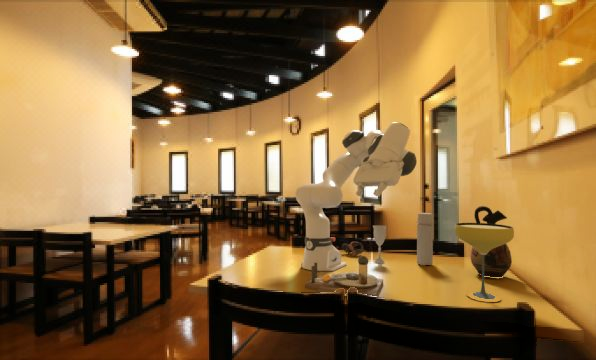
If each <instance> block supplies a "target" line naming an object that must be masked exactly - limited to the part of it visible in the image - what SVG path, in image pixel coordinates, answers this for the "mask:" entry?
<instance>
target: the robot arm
mask: <svg viewBox="0 0 596 360" xmlns="http://www.w3.org/2000/svg"><path fill="white" fill-rule="evenodd" d="M410 135H411V130H410V128H409V127H408V126H406V125H405V124H403V123H402V122H398V121H393V122H391V123H390V124H389V126H387V128H386V130H385V131H383V130H379V129H374V130H371V131H370V132H368V133H367V134H366V133H364V130H363V131H360V130H358V129H356V130H355V129H353V130H351V131H348V132H347V133H346V134H345V135H344V137H343V139H342V143H341V144H342V145H343V147H344V149H346V150H347V152H346V153H342V154H340V155H339V156H337V158H335V160H333V161H332V162H331V164H330V165H329V166H328V167H327V168H326V169H325V170H324V171H323V173H322V180H323V181H321V182H320V183H305V184H301V185H300V186H298V187H297V188H296V191H295V200H296V201H297V203H298V204H299V205H300V207H301V209H302V211H303V215H304V218H305V237H304V245H305V246H304V252H303V261H302V262H301V265H302V266H301V267H302V268H303V269H306V270H307V271H308V270H309V271H312V266H314V263H317V272H322V271H327V272H334V271H336V270H338V269H340V268H342V267H346V266H347V263H346V262H345V261H343V260H342V254H341V252H340V250H338V248H336V247H335V246H334V245H333V242H336V237H335V236H334V237H332V236H331V237H330V233H331V229H330V228H331V223H330V222H331V221H330V219H329V217H327V216H326V214H325V213H324V211H323V209H324V208H325V209H330V208H335V207H338V206H340V204H341V203H342V200H343V191H342V187H343V185H344V184H345V183H346V182H347V180H348V179H349V178H350V177H351V175H352V174H353V173H354V171H355V170H356V169H357V168H358V169H357V171H356V172H355V175H354V177H353V179H352V180H353V184H355V185H356V186H357V190H356V191H355V195H356V196H358V197H362V196H363V194H364V189H365V188H366V187H367V188H368V187H377V189H374V192H373V193H372V194H373V195H374V196H376V197H380V196H381V195H382V192H384V191H385V190H386V189H387V188H388V187H391V186H392V187H393V186H396V185H397V184H398V183H399V181H400V179H401V177H404V176H408V175H410V174H411V173H412V172H414V170H415V168H416V166H417V162H418V161H417V156H416V154H415V153H414V152H412V151H410V150H407V149H406V146H407V144H408V141H409V138H410Z"/></svg>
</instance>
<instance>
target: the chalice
mask: <svg viewBox="0 0 596 360" xmlns="http://www.w3.org/2000/svg"><path fill="white" fill-rule="evenodd" d="M372 228H373V238H374V241H375V243H376V245H377V246H378V248H377V249H378V252H377V253H378V256H377V257H376V258H375V260H374V263H375V264H379V265H382V264H385V260H384V258H383V257H382V256H381V255H382V252H381V250H382V247H381V246H382V245H384V244H383V243H384V242H385V239H386V238H387V230H386V229H387V226H386V225H372Z"/></svg>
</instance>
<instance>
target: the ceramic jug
mask: <svg viewBox="0 0 596 360" xmlns="http://www.w3.org/2000/svg"><path fill="white" fill-rule="evenodd" d="M482 212H487V214H486V215H484V217H483V218H482V222H486V223H487V224H497V223H498V222H500V221H503V220H506V219H508V218H507V216H505V214H503V213H502V211H499V210H498V209H497V210H496V211H495V212H493V211H492V209H491V208H490V207H488V206H484V205H481V206H480V205H479V206H478V207H477V208H475V211H474V214H473V215H474V219H475V223H481V220H480V216H479V213H482ZM471 247H472V248H471V250H470V261H471V264H472V267H474V269H475V270H476V271H477V274H478V273H479V274H481V275H482V255H481V254H480V253H479V252H478V250H477V249H476V248H475V247H473V246H471ZM512 261H513V260H512V255H511V250H510V248H509V246H508V243H506V244H504V245H501V246H498V247H496V248H493V249H491V250H490V251H489V252H488V253H487V254H486V255H484V276H490V277H502V276H503V277H504V275H506V273H507V272H508V271H509V270H510V268H511V267H512Z"/></svg>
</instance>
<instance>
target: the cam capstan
mask: <svg viewBox="0 0 596 360" xmlns="http://www.w3.org/2000/svg"><path fill="white" fill-rule="evenodd" d="M357 263H358V272H355V271H354V272H353V271H352V272H351V271H350V272H341V273H340V272H339V273H336V274H337V275H335V276H334V278H331V276H330V275H329V274H324V275H322V276H321V278H322V281H323V282H324V283H326V284H327V283H329V282H330V281H334V282H335V283H336V284H337V285H340V286H343V287H348V288H350V287H355V288H370V287H374V286H376V285H377V277H376V276H375V275H373V274H372V275H371V274H369V273H368V264H369V258H368V257H367V256H365V255H360V256H359V257H358V259H357Z"/></svg>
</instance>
